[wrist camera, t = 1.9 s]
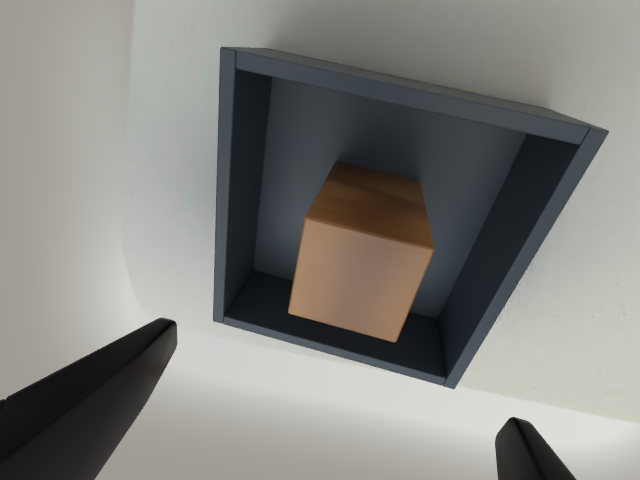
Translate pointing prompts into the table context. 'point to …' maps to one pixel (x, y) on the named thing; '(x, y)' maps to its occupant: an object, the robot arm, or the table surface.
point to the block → (362, 252)
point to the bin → (397, 159)
